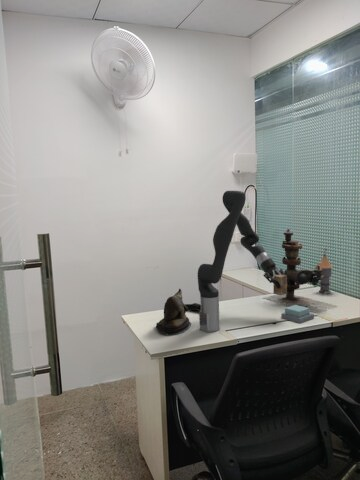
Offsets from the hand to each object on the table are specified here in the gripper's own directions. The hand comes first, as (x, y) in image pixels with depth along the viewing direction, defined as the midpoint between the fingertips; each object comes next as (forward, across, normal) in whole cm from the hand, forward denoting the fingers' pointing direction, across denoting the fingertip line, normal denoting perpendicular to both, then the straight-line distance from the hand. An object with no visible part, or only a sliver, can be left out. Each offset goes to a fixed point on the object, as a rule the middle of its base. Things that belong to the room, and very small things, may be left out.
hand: (283, 286), depth 205 cm
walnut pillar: (+2, 0, +4) cm, 5 cm away
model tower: (+2, +61, +23) cm, 65 cm away
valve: (+4, +31, +21) cm, 37 cm away
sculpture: (-8, -54, +32) cm, 63 cm away
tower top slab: (+14, +5, +7) cm, 16 cm away
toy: (-19, -27, +44) cm, 55 cm away
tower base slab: (+17, +5, +9) cm, 19 cm away
